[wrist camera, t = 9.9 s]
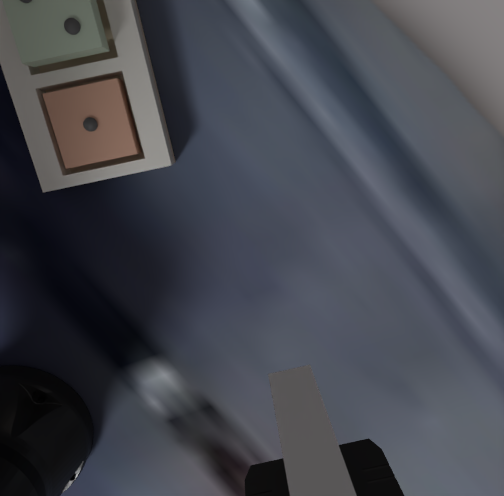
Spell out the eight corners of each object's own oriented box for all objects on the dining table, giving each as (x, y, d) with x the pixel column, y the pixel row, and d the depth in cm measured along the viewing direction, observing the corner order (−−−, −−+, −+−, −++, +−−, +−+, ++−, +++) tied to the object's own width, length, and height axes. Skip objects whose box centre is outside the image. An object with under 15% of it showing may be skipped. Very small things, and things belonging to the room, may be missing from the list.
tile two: (34, 67, 35) (20, 63, 33) (7, -18, 34) (-9, -28, 32) (109, 51, 36) (101, 46, 33) (87, -35, 34) (76, -46, 32)
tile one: (74, 166, 40) (64, 169, 37) (52, 95, 38) (41, 93, 36) (141, 152, 40) (136, 154, 37) (122, 80, 38) (116, 77, 36)
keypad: (57, 187, 42) (42, 192, 38) (-46, -135, 35) (-74, -161, 31) (175, 162, 42) (171, 165, 38) (95, -164, 35) (82, -194, 32)
